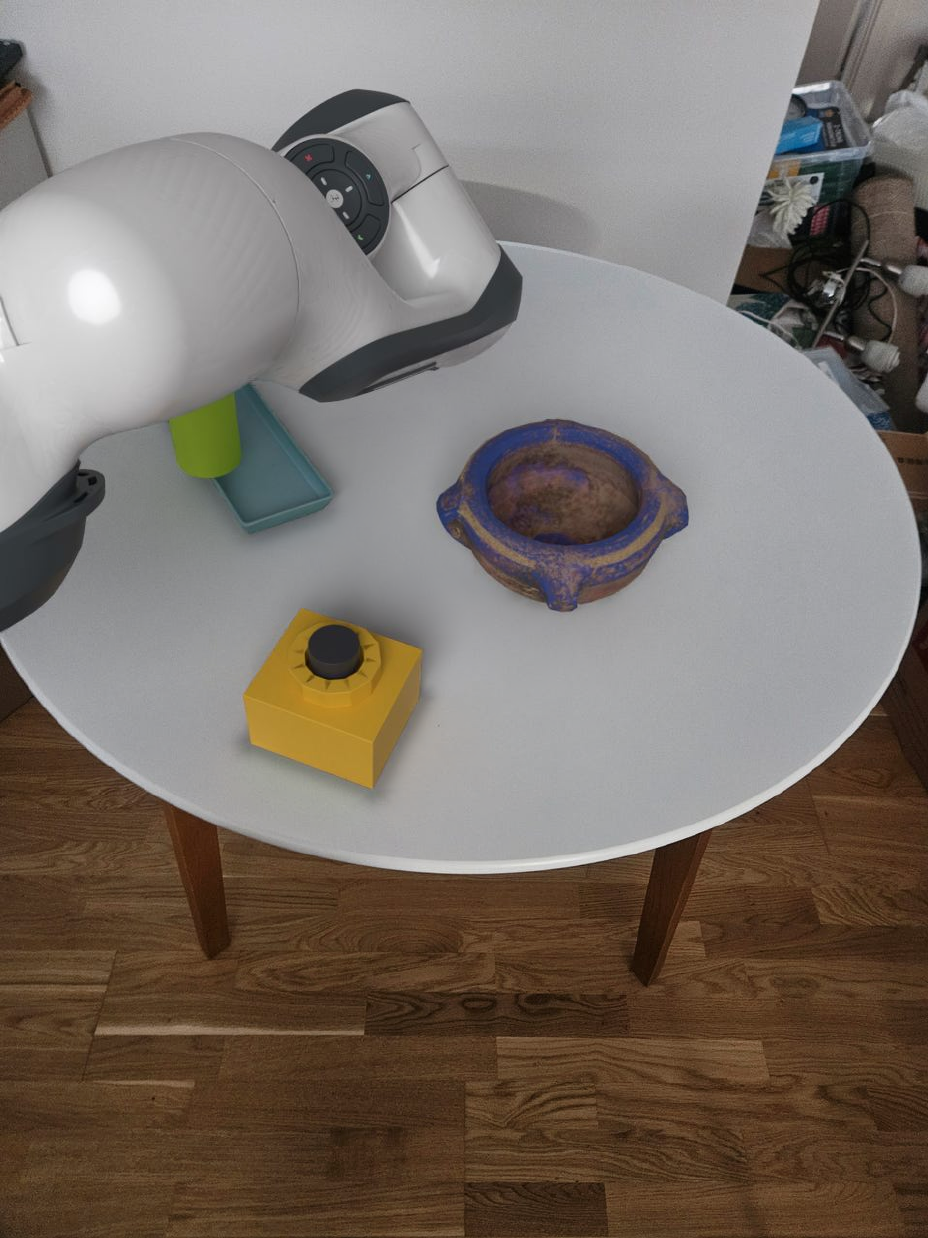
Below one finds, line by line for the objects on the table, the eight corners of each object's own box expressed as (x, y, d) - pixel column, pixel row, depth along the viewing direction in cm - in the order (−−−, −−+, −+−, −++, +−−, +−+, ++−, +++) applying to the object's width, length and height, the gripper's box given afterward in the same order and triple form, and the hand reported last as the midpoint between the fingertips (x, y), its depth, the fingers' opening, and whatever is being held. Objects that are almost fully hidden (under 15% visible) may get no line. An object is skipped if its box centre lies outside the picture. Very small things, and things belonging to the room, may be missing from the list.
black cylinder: (300, 669, 68) (298, 654, 67) (322, 633, 71) (322, 618, 69) (346, 686, 68) (346, 671, 66) (368, 649, 70) (368, 634, 69)
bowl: (409, 547, 87) (413, 461, 80) (553, 471, 96) (569, 387, 88) (544, 675, 79) (563, 593, 72) (689, 579, 88) (719, 497, 80)
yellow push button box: (250, 743, 73) (239, 679, 67) (305, 657, 79) (299, 591, 72) (372, 789, 71) (373, 728, 65) (419, 698, 77) (423, 633, 71)
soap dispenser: (158, 447, 90) (115, 243, 75) (231, 431, 92) (204, 230, 77) (174, 487, 87) (132, 283, 72) (249, 469, 89) (225, 268, 74)
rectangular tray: (142, 385, 100) (138, 364, 98) (227, 362, 103) (224, 342, 101) (244, 547, 86) (241, 527, 84) (337, 515, 90) (337, 495, 88)
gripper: (131, 384, 64) (88, 428, 76) (371, 287, 74) (301, 338, 86) (82, 294, 63) (46, 352, 75) (334, 207, 73) (267, 270, 85)
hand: (184, 344), depth 80 cm, fingers open, 8 cm apart
